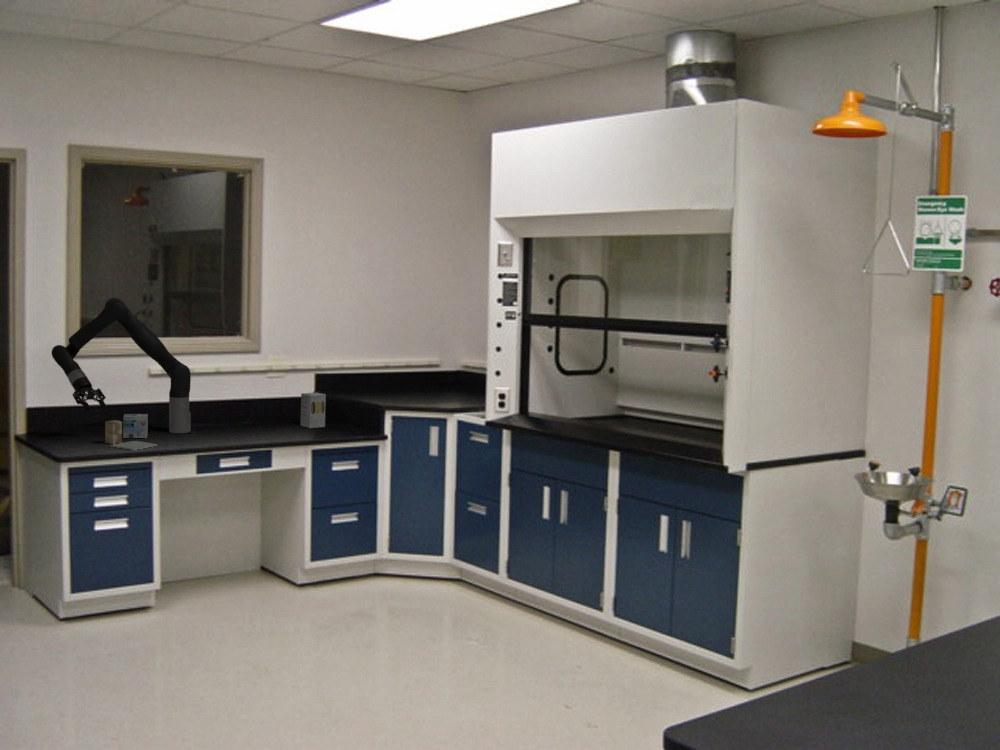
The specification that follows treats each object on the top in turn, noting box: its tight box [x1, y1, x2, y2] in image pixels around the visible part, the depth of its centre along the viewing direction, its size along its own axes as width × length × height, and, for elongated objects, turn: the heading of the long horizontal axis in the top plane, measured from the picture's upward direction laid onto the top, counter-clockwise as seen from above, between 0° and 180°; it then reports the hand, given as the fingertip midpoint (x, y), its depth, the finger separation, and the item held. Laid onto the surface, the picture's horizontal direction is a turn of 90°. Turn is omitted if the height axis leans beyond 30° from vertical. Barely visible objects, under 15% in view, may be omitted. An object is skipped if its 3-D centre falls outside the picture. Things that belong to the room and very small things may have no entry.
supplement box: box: [300, 392, 327, 429], centre depth 549 cm, size 10×9×17 cm
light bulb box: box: [122, 413, 149, 439], centre depth 499 cm, size 11×7×11 cm, turn 105°
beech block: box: [104, 419, 123, 445], centre depth 484 cm, size 5×5×10 cm
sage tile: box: [109, 440, 158, 451], centre depth 478 cm, size 14×14×1 cm
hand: (96, 408), depth 488 cm, fingers open, 8 cm apart
